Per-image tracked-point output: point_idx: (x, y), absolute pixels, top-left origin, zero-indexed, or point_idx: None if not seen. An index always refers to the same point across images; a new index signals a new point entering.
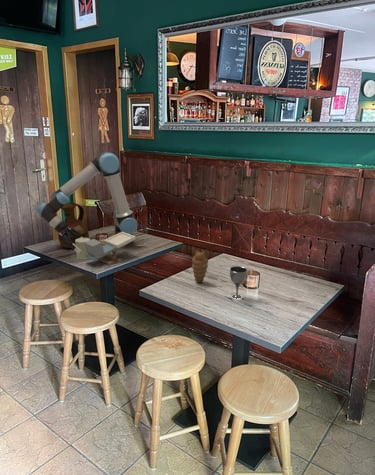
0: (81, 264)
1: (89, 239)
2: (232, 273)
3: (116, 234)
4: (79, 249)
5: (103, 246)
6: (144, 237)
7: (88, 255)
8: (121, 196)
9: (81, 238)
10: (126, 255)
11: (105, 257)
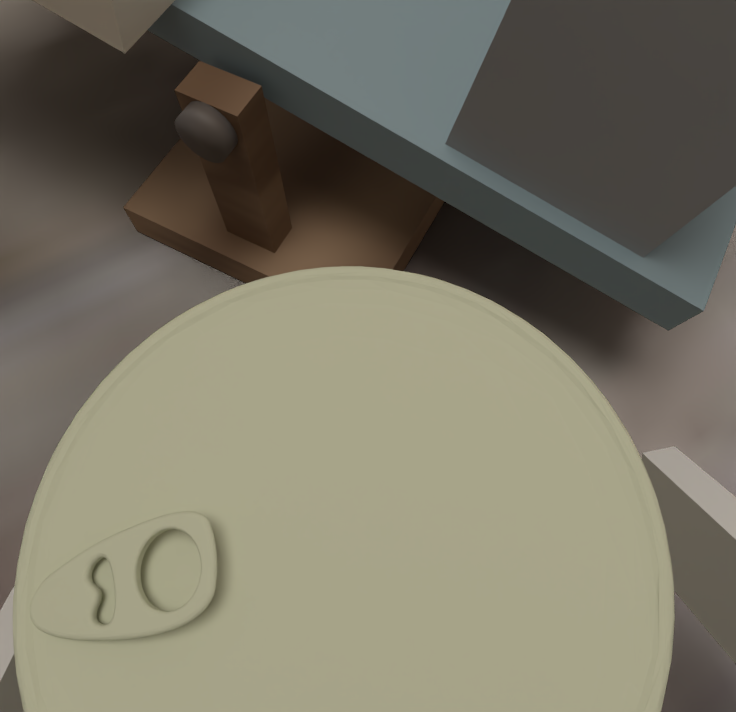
0: (695, 421)
1: (201, 330)
2: None
3: None
4: (688, 475)
5: (316, 31)
6: None
7: (723, 198)
8: None
9: None
10: (99, 41)
11: (345, 167)
